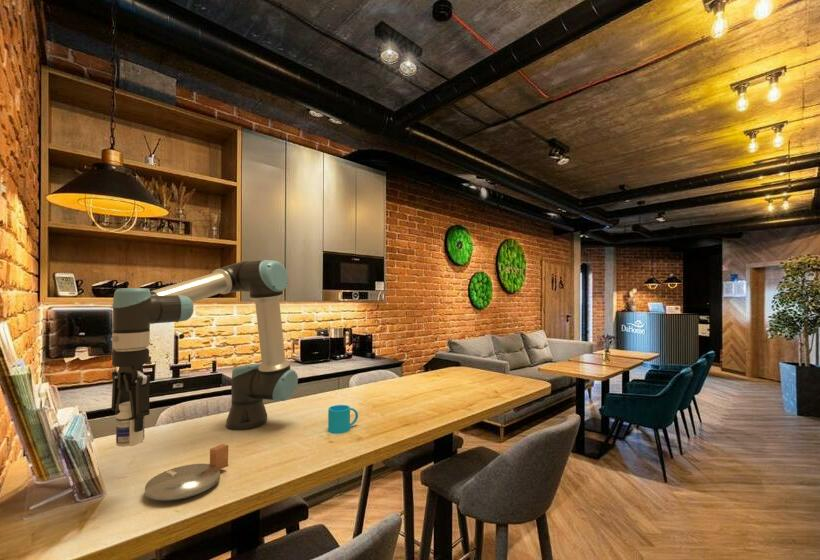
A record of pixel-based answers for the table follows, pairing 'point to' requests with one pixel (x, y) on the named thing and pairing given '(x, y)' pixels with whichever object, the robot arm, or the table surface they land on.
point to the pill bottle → (124, 424)
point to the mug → (340, 419)
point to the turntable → (188, 478)
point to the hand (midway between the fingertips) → (129, 441)
